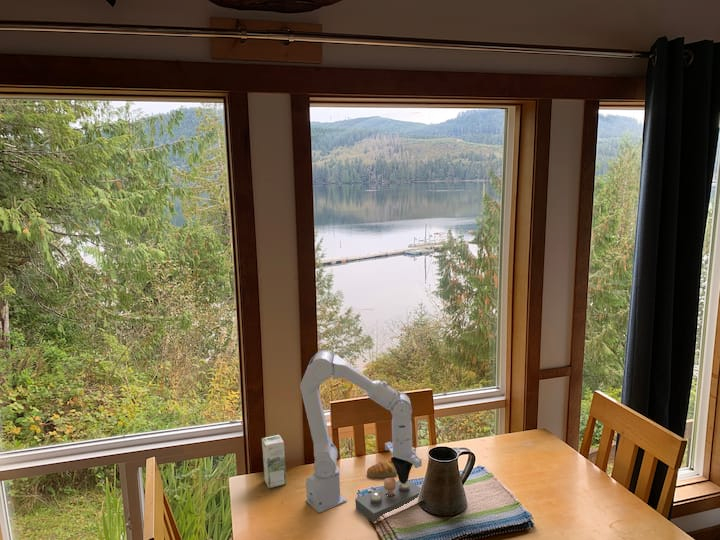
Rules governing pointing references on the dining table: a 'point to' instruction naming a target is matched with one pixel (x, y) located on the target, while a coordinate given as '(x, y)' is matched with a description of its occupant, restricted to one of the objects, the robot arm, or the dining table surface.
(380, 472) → the pastry
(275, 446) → the syrup box
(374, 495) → the near knob
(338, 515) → the dining table surface
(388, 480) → the middle knob
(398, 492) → the knob panel
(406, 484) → the far knob
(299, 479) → the dining table surface
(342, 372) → the robot arm
